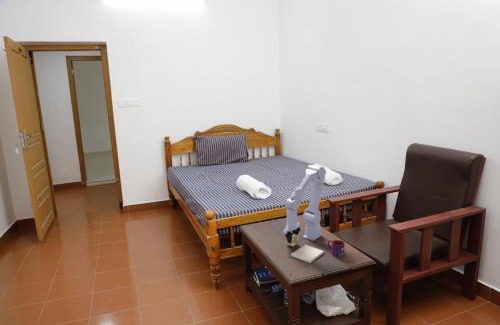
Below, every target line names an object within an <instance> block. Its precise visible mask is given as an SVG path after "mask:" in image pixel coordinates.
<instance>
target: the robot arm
mask: <svg viewBox="0 0 500 325" xmlns="http://www.w3.org/2000/svg"><path fill="white" fill-rule="evenodd" d="M326 174H327V170H326V169H325V167H323V166H318V165H314V164H309V165H308V166H307V167H306V169H305V176H304V177H303V179H302V181H301V182H300V184H299V186H297V187H296V188H295V189H294V190H293V192H292V193H291V195H290V197H289V198H287V199H286V200H285V201H284V202H285V203H284V204H283V205H284V208H285V210H286V224H285V228H284V229H283V230H282V234H283V235H284V236H285V240H286V239H287V242H288V243H290V244H291V242H292V235H293V234H296V235H298V236H299V234H300V233H299V232H300V231H301V225H302V223H301V222H299V221H298V209H299V208H300V203H301V200H302V199H303V197H304V195H305V190H306V189H307V187H308V185H310V183H311V182H312V181H314V182H313V186H312V192H311V196H310V202H309V204H308V207H306V208H305V209H304V212H303V214H302V219H303V221H304V223H305V234H304V235H302V238H305V239H307V240H310V241H316V240H317V239H319V238H320V237H321V236H322V234H321V227H322V226H321V220H322V217H321V214H322V213H321V211H320V209H319V205H320V200H321V197H322V192H323V187H324V183H325V179H326Z"/></svg>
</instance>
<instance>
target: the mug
mask: <svg viewBox="0 0 500 325" xmlns="http://www.w3.org/2000/svg"><path fill="white" fill-rule="evenodd" d="M330 242H331V244H330ZM345 245H346V244H345V242H344V241H343V240H341V239H335V240H331V239H330V240H328V242H327V246H328V248H329V249H330V250H331V255H332V256H333V257H334V258H342V257H344V256H345Z"/></svg>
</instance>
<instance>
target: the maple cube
mask: <svg viewBox="0 0 500 325" xmlns="http://www.w3.org/2000/svg"><path fill="white" fill-rule="evenodd" d="M285 244H286V245H288V246H291V247H295V246H297V245H298V244H299V234H298V235H296V234H293V235H292V242H291V244H290V243H288V242H287V239H286V238H285Z"/></svg>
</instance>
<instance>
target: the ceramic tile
mask: <svg viewBox="0 0 500 325" xmlns="http://www.w3.org/2000/svg"><path fill="white" fill-rule="evenodd" d="M324 253H325V251H324V250H321V249H320V248H316V247H313V246H310V245H307V244H304V245H302V246H301V247H300V248H298V249H296V250H295V251H294V252H291V253H290V256H291V257H292V258H295V259H297V260H301V261H303V262H306V263H308V264H311V263H312V262H314V261H315V260H316V259H319V257H320V256H322V255H323V254H324Z"/></svg>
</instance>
